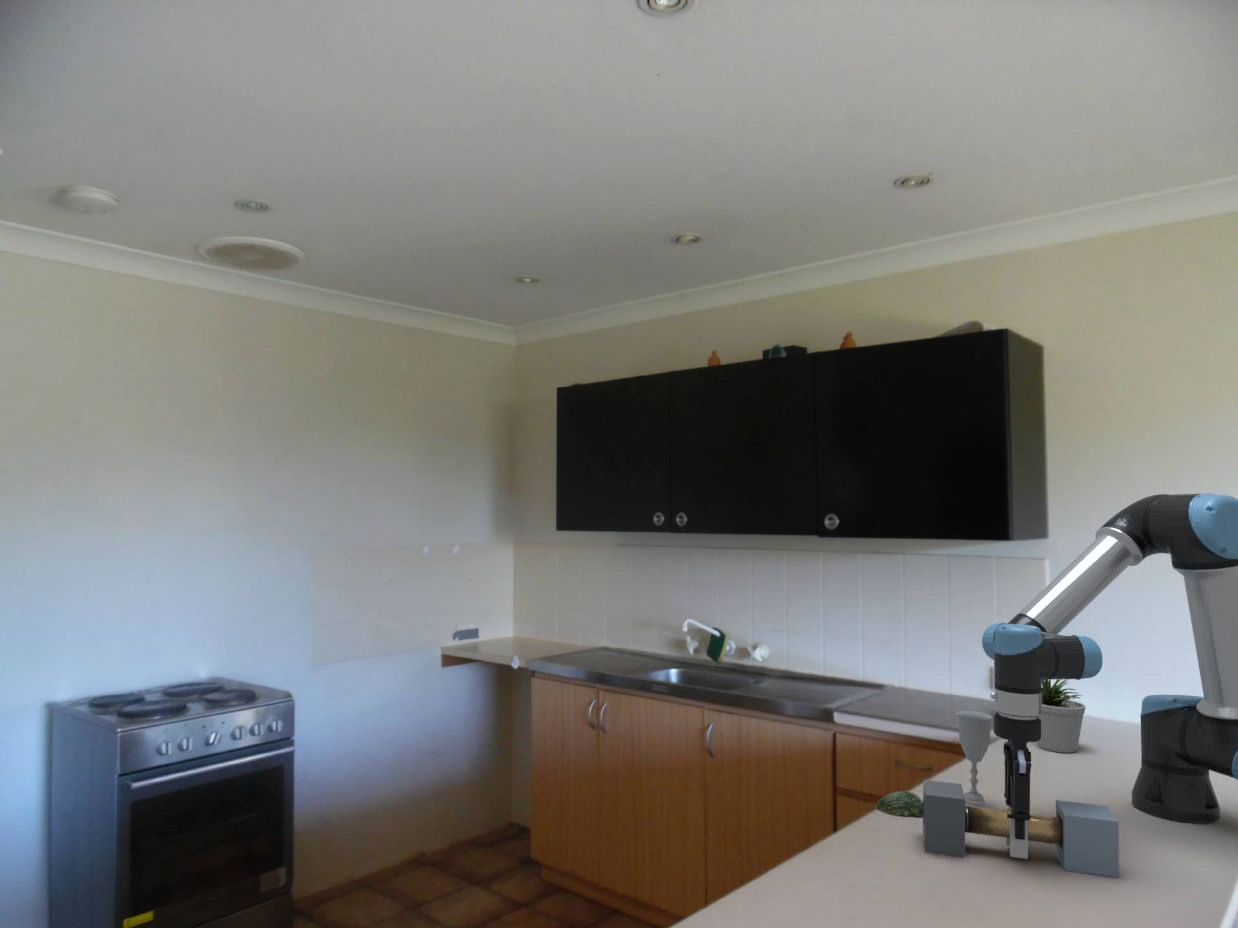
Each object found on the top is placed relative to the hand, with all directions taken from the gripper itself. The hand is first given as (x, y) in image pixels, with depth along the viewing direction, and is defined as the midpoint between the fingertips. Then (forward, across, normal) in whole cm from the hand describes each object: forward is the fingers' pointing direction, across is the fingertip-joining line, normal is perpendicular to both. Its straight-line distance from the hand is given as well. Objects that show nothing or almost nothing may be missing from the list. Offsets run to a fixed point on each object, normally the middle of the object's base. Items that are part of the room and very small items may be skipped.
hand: (1016, 850), depth 150 cm
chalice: (+1, -25, -5) cm, 25 cm away
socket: (+1, 0, -12) cm, 12 cm away
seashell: (+1, -17, -19) cm, 25 cm away
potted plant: (+1, -81, +20) cm, 83 cm away
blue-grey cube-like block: (+1, 0, +11) cm, 11 cm away
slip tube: (-2, 0, +3) cm, 3 cm away
